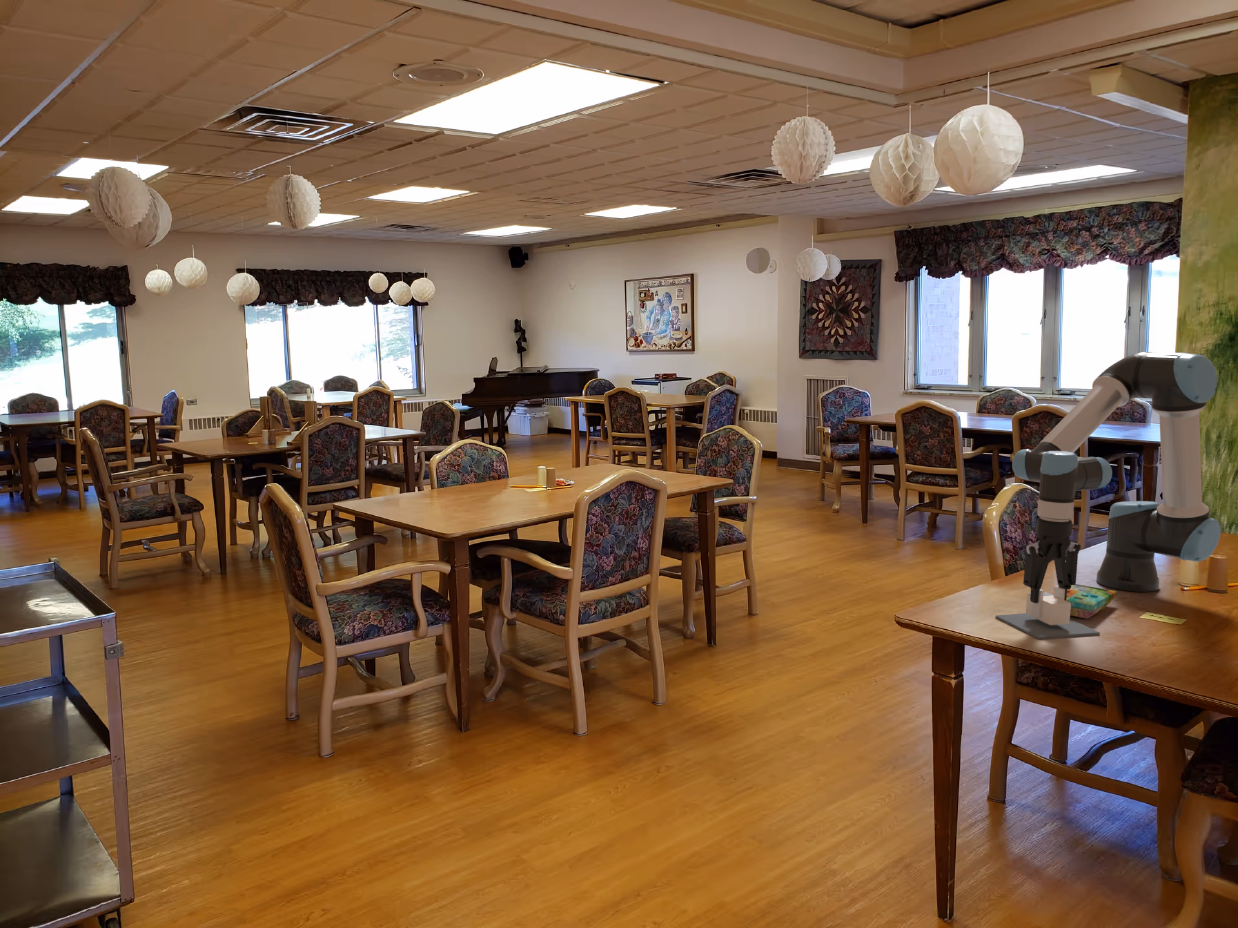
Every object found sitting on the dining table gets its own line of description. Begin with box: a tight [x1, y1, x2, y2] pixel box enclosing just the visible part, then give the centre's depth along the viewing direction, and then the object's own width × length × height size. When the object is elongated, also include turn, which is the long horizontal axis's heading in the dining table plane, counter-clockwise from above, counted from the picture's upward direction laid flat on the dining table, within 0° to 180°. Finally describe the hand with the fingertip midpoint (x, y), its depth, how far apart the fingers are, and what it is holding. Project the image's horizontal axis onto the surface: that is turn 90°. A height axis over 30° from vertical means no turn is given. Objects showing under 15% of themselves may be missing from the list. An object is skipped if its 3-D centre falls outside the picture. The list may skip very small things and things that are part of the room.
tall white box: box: [1025, 591, 1071, 625], centre depth 220 cm, size 9×5×5 cm, turn 12°
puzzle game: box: [1046, 583, 1118, 620], centre depth 234 cm, size 12×5×20 cm
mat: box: [995, 612, 1101, 640], centre depth 221 cm, size 16×16×1 cm
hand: (1047, 614), depth 220 cm, fingers closed on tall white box, 5 cm apart
